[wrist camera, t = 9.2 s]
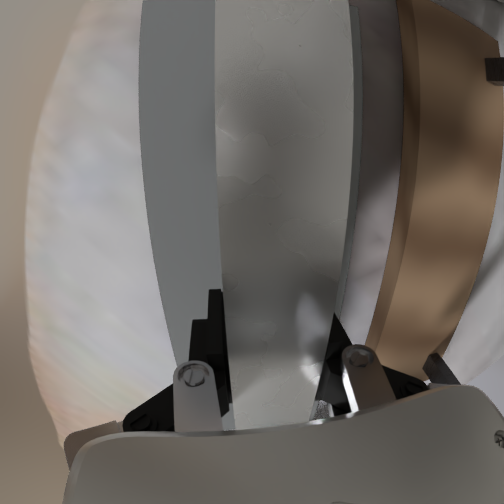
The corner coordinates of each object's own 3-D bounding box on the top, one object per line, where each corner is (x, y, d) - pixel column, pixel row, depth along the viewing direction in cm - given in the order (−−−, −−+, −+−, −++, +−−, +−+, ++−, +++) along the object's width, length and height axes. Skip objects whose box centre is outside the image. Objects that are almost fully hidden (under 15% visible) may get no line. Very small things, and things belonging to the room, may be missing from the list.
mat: (146, 6, 9) (142, 0, 8) (351, 11, 10) (357, 7, 9) (196, 423, 21) (196, 430, 20) (311, 413, 22) (313, 420, 21)
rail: (218, -30, 5) (219, -72, 3) (311, -24, 6) (338, -58, 3) (240, 466, 17) (243, 494, 14) (280, 462, 17) (286, 489, 15)
